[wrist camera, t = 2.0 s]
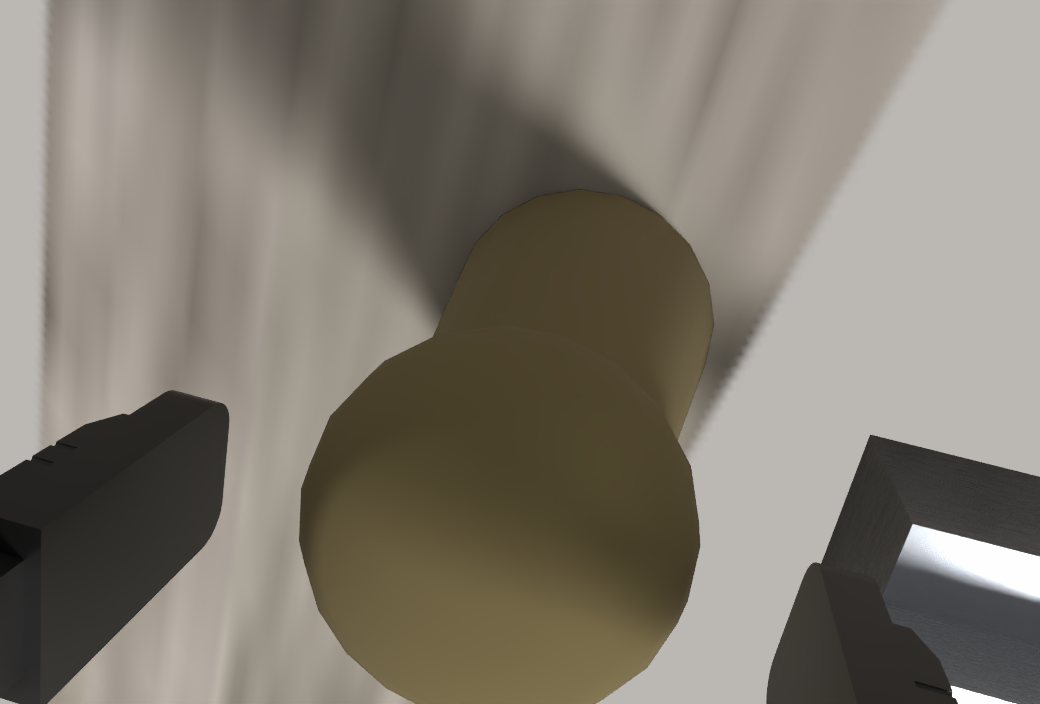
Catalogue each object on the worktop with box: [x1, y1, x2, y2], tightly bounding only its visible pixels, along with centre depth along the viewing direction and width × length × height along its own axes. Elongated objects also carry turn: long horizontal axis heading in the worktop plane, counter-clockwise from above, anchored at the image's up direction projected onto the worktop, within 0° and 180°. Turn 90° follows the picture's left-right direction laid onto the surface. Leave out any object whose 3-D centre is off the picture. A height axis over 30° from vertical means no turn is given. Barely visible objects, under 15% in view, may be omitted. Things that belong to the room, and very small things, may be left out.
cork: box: [299, 189, 714, 704], centre depth 15 cm, size 6×6×11 cm
